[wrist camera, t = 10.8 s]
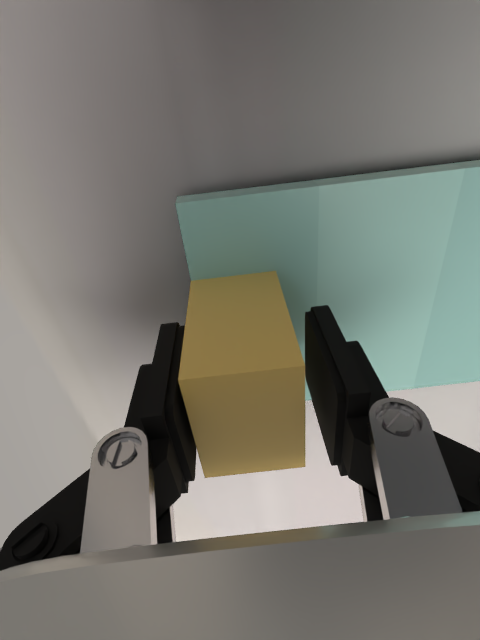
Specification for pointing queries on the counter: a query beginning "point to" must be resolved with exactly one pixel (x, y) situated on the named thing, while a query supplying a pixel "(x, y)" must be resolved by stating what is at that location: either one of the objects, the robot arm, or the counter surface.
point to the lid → (323, 298)
